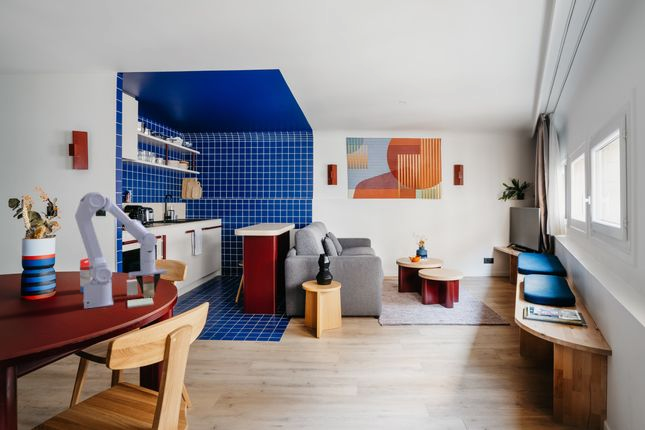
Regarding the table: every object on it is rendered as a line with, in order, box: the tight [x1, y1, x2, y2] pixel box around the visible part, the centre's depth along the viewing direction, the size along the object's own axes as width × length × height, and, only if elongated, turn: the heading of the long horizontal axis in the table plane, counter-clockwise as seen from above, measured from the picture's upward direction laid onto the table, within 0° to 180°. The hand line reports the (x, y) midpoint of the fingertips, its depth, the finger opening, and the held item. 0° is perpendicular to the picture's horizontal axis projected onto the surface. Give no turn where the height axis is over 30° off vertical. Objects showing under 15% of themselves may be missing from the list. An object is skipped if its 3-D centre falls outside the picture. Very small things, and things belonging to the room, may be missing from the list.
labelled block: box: [142, 280, 155, 299], centre depth 154 cm, size 4×4×6 cm
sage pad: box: [127, 297, 155, 309], centre depth 144 cm, size 9×9×1 cm
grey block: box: [126, 278, 139, 297], centre depth 158 cm, size 4×4×6 cm
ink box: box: [79, 257, 92, 294], centre depth 164 cm, size 8×5×15 cm, turn 179°
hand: (148, 292), depth 154 cm, fingers closed on labelled block, 4 cm apart
